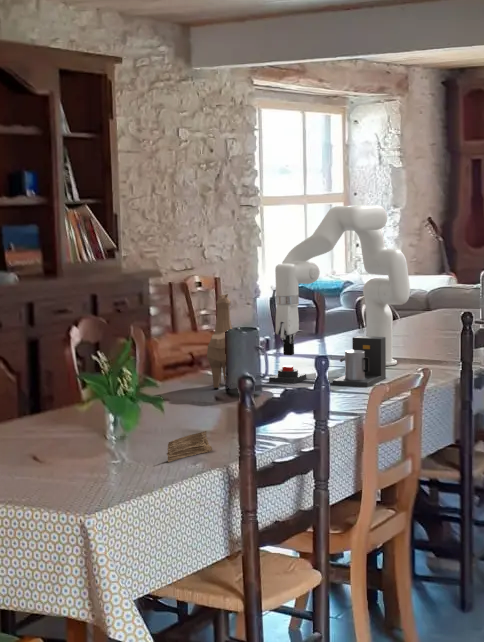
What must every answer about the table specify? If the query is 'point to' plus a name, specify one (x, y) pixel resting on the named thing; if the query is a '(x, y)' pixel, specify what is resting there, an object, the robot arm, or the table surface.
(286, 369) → the power button
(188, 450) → the wood plank
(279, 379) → the switch block
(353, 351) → the kettle
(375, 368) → the coffee maker
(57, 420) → the table surface
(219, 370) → the toy
